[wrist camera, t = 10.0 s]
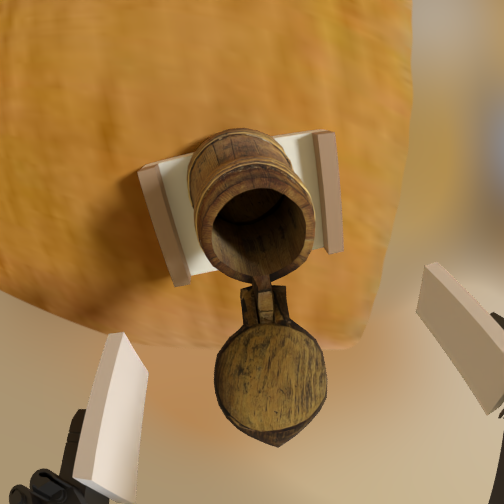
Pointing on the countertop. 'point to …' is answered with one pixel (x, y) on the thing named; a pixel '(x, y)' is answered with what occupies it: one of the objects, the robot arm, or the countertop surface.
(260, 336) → the wooden mug
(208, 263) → the ledge board
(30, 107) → the countertop surface
